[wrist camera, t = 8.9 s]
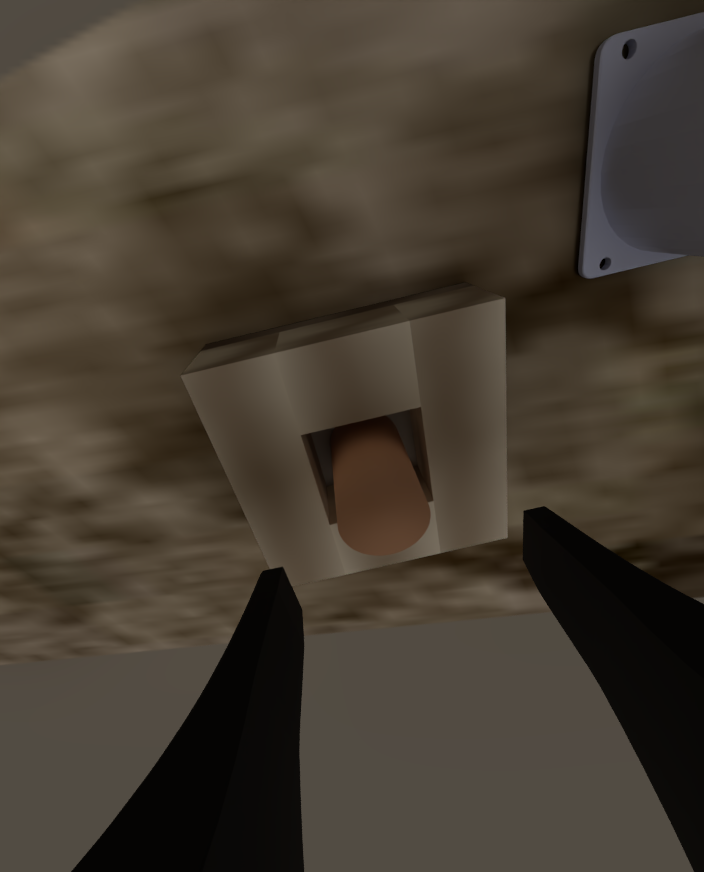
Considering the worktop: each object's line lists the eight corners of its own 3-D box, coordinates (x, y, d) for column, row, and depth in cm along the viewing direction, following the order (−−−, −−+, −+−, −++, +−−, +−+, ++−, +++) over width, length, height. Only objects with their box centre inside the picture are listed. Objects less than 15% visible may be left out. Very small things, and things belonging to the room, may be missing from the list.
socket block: (465, 282, 17) (505, 297, 14) (477, 490, 23) (507, 537, 20) (205, 344, 17) (180, 375, 14) (283, 534, 23) (279, 589, 20)
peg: (412, 428, 19) (449, 504, 14) (375, 480, 21) (397, 566, 16) (352, 399, 18) (368, 468, 13) (318, 455, 20) (320, 538, 14)
